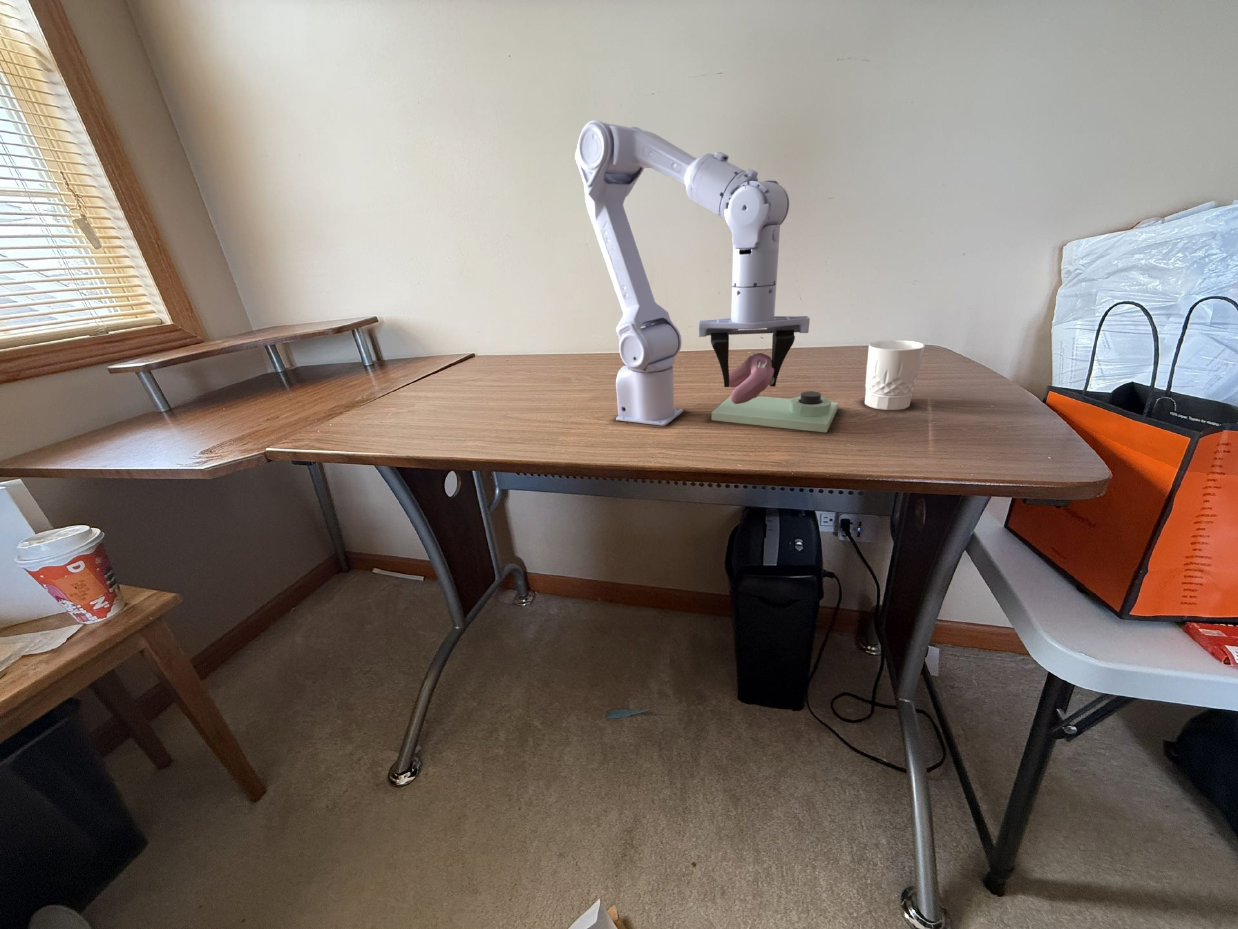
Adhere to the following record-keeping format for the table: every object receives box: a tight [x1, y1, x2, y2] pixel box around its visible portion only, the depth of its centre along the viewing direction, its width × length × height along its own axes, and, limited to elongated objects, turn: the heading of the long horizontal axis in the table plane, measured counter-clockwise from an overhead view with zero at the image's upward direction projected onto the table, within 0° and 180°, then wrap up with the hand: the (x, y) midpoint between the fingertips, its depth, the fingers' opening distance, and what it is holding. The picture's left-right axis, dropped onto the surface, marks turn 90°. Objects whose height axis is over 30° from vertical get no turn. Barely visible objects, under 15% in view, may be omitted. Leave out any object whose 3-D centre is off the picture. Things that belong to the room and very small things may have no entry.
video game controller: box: [728, 352, 774, 404], centre depth 68 cm, size 10×5×7 cm, turn 172°
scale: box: [711, 395, 839, 433], centre depth 79 cm, size 18×11×3 cm, turn 60°
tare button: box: [800, 390, 822, 405], centre depth 76 cm, size 3×3×2 cm
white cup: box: [864, 339, 926, 411], centre depth 79 cm, size 8×8×10 cm
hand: (749, 385), depth 69 cm, fingers closed on video game controller, 6 cm apart
